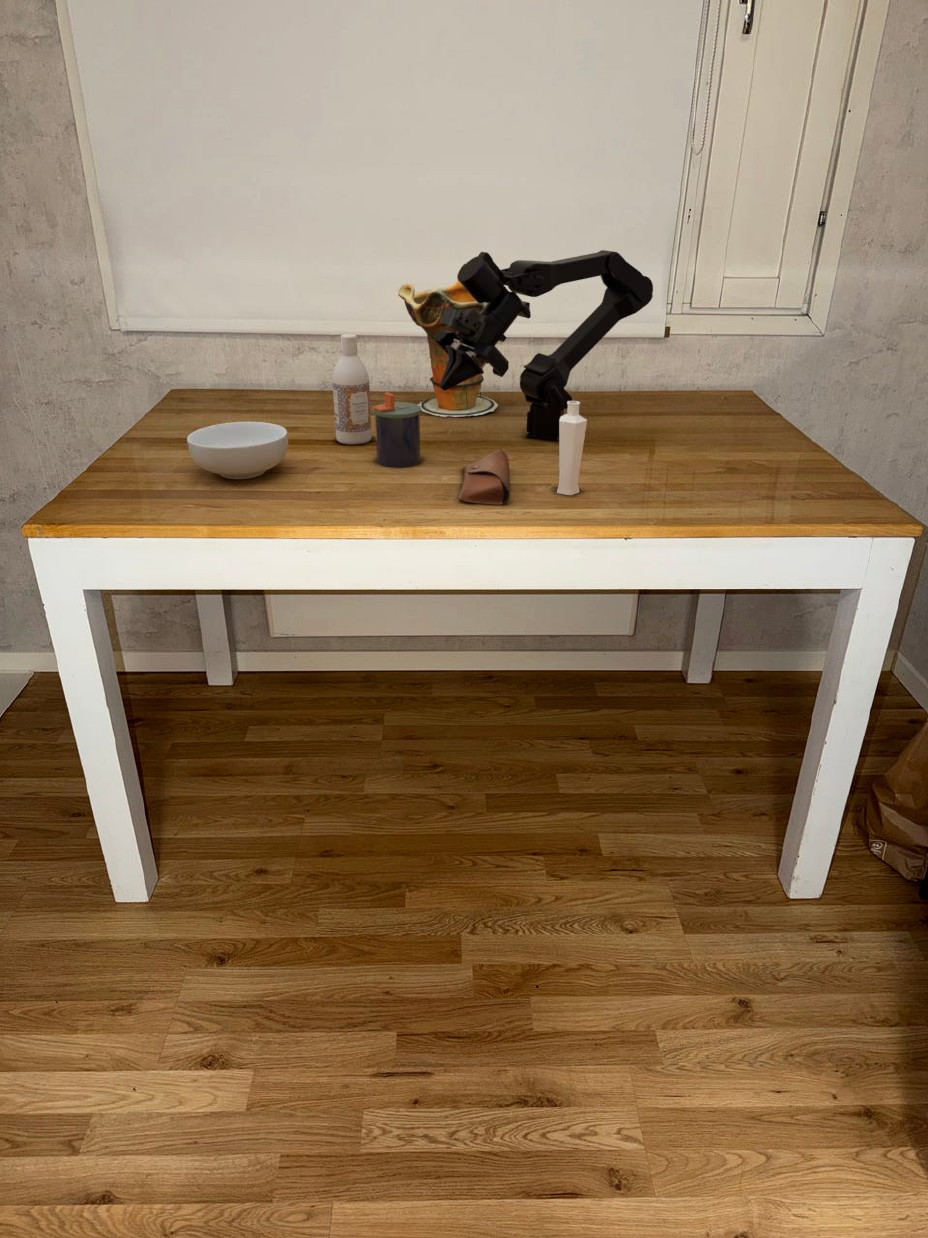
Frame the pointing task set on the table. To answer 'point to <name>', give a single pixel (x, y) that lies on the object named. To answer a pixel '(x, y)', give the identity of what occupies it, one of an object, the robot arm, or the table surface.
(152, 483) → the table surface
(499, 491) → the sunglasses case
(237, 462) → the cereal bowl
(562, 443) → the white tall faceted bottle
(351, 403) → the bath foam
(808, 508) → the table surface
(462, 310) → the decorative vase
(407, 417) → the travel cup
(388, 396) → the slider
